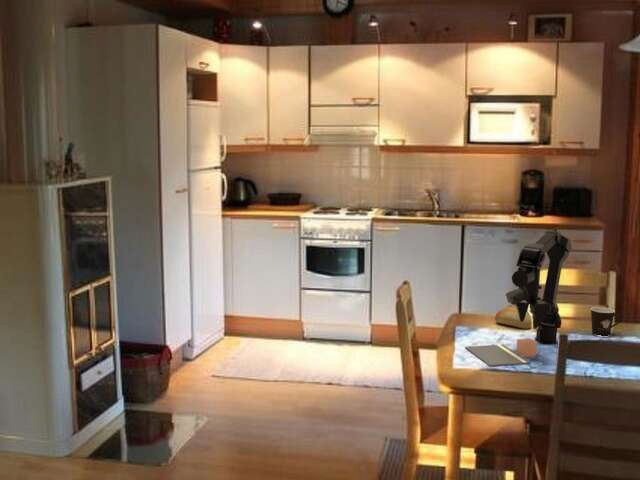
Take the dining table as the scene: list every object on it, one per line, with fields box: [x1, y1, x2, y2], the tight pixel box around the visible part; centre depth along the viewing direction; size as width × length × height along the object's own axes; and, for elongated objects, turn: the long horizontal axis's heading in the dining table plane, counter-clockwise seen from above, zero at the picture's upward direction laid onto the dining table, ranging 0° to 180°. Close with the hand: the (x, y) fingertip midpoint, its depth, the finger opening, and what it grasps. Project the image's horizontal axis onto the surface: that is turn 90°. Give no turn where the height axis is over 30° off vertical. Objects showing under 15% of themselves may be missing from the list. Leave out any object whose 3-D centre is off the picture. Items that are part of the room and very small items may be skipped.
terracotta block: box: [516, 337, 538, 358], centre depth 258 cm, size 5×5×5 cm
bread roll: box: [494, 304, 533, 330], centre depth 293 cm, size 10×15×8 cm, turn 56°
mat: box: [464, 343, 531, 368], centre depth 256 cm, size 15×20×1 cm
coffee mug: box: [590, 306, 623, 336], centre depth 282 cm, size 12×9×10 cm
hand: (528, 325), depth 257 cm, fingers open, 9 cm apart
